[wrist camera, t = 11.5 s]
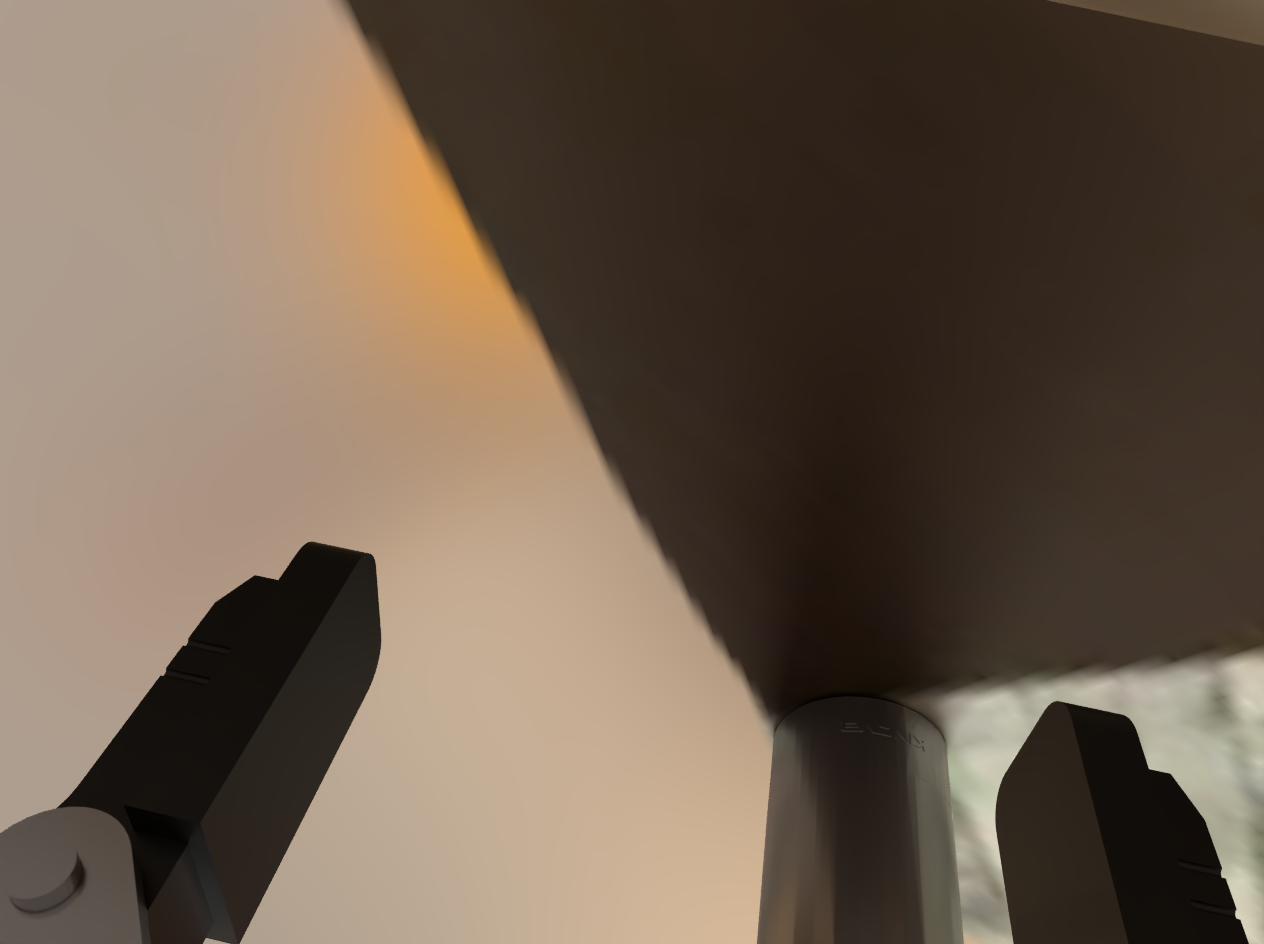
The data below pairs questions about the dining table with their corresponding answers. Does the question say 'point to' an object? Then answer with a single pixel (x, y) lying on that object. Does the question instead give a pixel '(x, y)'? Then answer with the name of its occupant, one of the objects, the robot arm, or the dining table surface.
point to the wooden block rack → (1191, 15)
